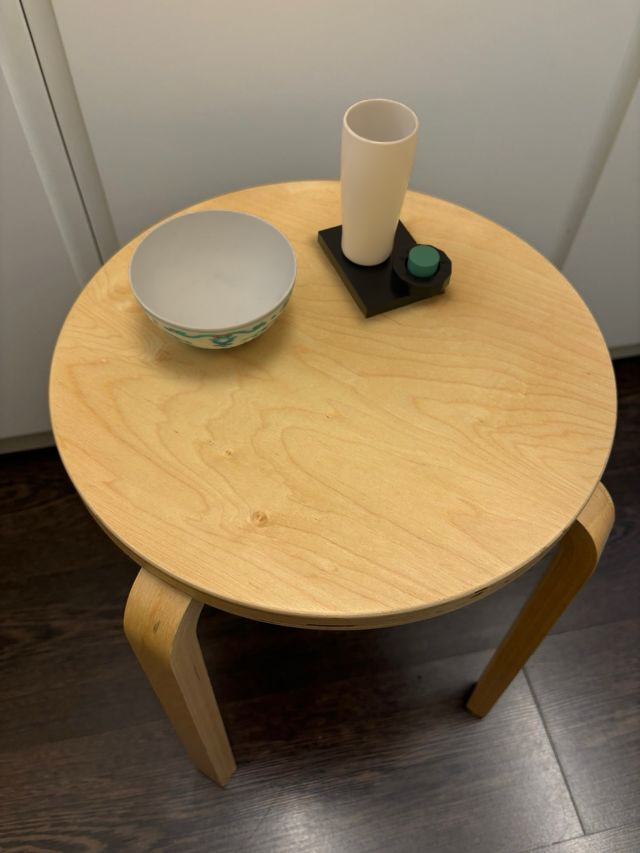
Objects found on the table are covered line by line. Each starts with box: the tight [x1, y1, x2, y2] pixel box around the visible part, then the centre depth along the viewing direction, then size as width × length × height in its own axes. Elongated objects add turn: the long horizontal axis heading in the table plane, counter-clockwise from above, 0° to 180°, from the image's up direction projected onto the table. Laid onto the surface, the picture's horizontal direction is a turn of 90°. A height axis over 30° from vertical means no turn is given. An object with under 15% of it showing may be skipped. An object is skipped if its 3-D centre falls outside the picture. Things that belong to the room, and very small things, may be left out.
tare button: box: [407, 245, 439, 277], centre depth 70 cm, size 3×3×2 cm
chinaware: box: [127, 208, 298, 350], centre depth 66 cm, size 15×15×8 cm
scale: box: [317, 218, 453, 319], centre depth 73 cm, size 10×13×3 cm
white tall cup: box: [339, 98, 420, 266], centre depth 67 cm, size 7×7×15 cm
